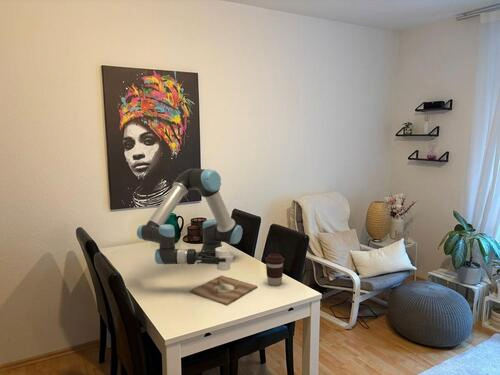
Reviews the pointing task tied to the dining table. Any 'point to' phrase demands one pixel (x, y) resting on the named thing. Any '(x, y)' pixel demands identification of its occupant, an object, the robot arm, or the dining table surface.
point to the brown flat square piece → (223, 289)
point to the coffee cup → (274, 269)
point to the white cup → (223, 253)
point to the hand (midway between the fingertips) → (233, 256)
